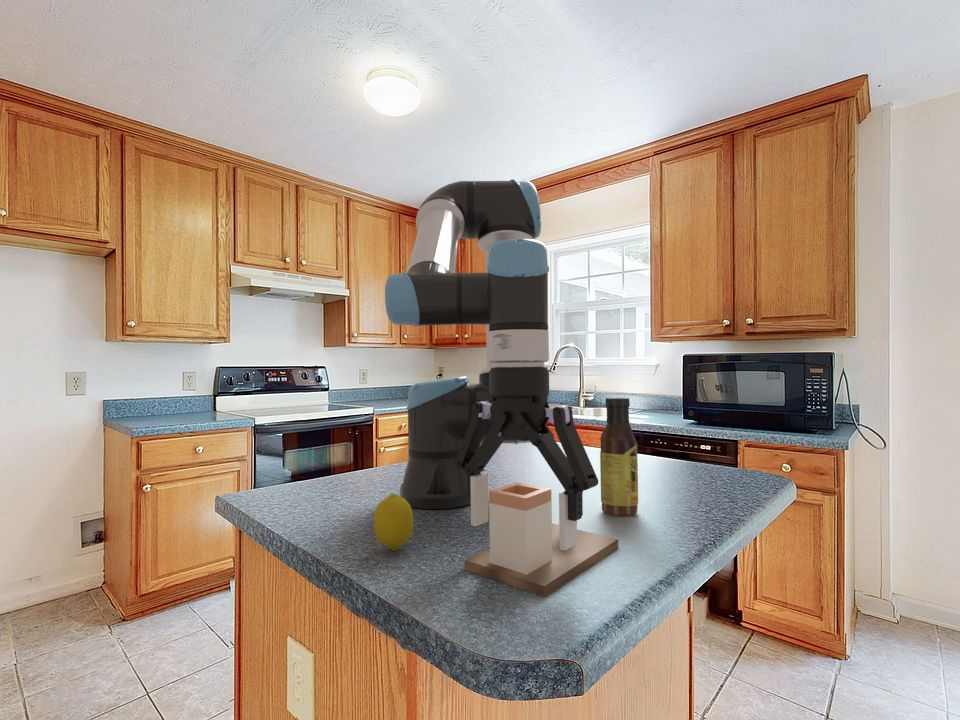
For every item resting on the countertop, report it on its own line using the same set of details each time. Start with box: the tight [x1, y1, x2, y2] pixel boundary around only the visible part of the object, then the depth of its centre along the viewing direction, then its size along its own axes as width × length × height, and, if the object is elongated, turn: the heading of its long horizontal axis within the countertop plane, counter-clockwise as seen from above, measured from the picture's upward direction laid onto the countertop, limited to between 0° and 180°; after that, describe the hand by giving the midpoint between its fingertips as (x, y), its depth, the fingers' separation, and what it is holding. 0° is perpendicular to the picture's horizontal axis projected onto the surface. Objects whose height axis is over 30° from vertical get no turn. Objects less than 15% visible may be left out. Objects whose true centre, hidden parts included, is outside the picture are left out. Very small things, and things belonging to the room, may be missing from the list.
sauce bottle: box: [599, 396, 639, 517], centre depth 87 cm, size 7×6×20 cm
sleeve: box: [488, 482, 553, 575], centre depth 63 cm, size 6×6×9 cm
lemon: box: [373, 493, 415, 552], centre depth 71 cm, size 6×6×8 cm
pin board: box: [464, 523, 619, 597], centre depth 67 cm, size 12×19×7 cm, turn 140°
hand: (520, 534), depth 63 cm, fingers open, 13 cm apart
